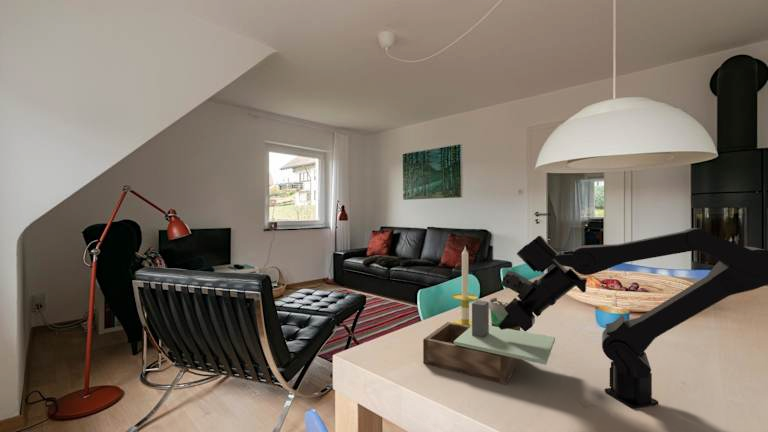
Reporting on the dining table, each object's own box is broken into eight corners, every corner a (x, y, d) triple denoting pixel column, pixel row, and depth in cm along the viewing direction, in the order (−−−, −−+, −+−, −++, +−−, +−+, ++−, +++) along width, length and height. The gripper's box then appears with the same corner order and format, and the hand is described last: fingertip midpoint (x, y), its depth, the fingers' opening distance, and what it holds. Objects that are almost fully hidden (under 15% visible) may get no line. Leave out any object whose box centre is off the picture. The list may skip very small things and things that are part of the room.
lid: (555, 340, 83) (555, 304, 83) (546, 364, 69) (546, 322, 69) (474, 325, 94) (474, 294, 94) (453, 344, 80) (453, 307, 80)
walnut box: (520, 358, 87) (520, 335, 87) (505, 384, 74) (505, 357, 74) (447, 342, 98) (447, 321, 98) (423, 363, 85) (423, 339, 84)
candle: (482, 332, 107) (482, 247, 107) (450, 330, 108) (450, 246, 108) (478, 322, 117) (478, 244, 116) (449, 320, 118) (449, 244, 118)
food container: (479, 329, 109) (479, 298, 109) (495, 327, 111) (495, 297, 111) (506, 343, 97) (506, 308, 97) (523, 340, 99) (523, 306, 99)
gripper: (530, 256, 87) (487, 293, 93) (514, 266, 71) (464, 310, 77) (564, 290, 83) (517, 327, 89) (556, 308, 67) (499, 351, 73)
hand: (500, 327), depth 82 cm, fingers closed
